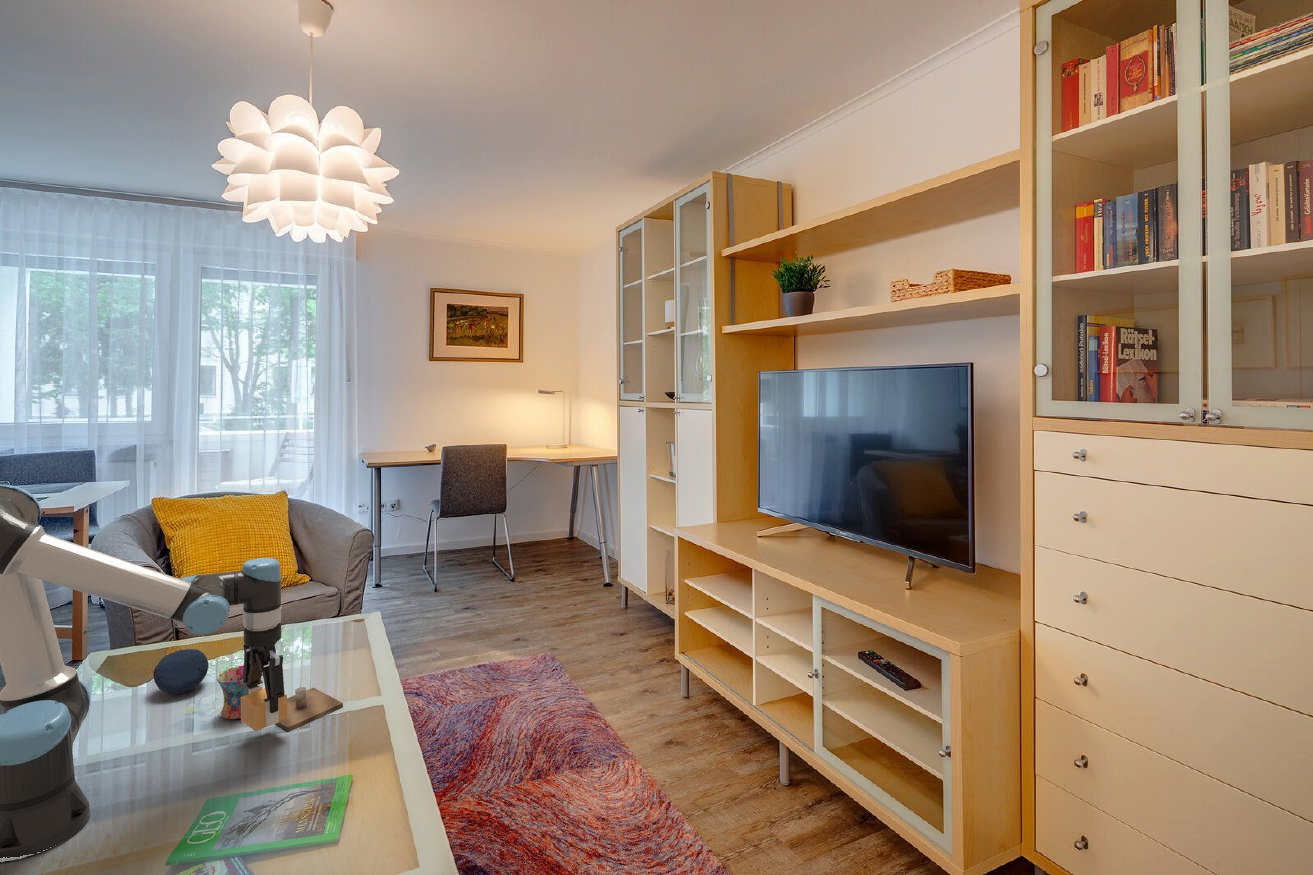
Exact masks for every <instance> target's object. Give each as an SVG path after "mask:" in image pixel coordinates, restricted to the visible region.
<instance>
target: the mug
mask: <svg viewBox="0 0 1313 875" xmlns="http://www.w3.org/2000/svg"><path fill="white" fill-rule="evenodd" d="M243 670H244V664H242V665H238V666H233V667H231V668H227V669H226V670H225V669H224V670H223V671H222V672H220V673H219V674H218V675H217V676H216V681H217V683H218V684H219V686H220V688H221V690H222V695H223V706H222V709H221V711H220V716H221V718H223V719H226V720H239V719H241V697H242V696H245V695H248V694H249V688H248V687H247V683H244V682H243ZM261 677H263V673H262V676H261Z"/></svg>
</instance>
